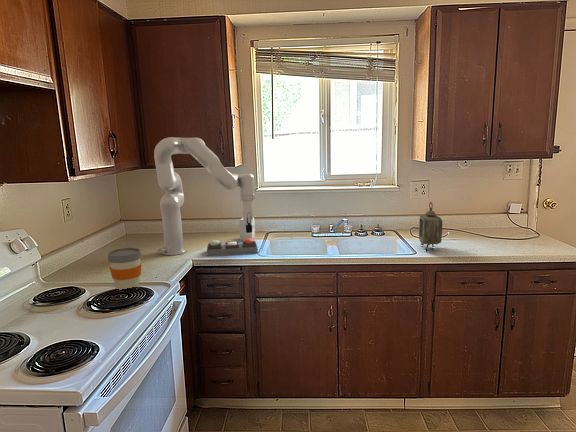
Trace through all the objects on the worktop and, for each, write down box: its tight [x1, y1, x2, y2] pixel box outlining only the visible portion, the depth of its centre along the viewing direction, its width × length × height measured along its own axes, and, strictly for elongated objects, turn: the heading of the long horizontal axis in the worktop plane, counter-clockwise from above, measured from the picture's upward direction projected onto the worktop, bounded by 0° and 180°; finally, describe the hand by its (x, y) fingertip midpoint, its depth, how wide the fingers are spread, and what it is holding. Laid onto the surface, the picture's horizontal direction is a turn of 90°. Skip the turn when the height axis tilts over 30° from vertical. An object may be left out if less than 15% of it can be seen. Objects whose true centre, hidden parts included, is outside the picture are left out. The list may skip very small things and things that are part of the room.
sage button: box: [209, 239, 220, 246], centre depth 212 cm, size 5×5×2 cm
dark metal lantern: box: [418, 201, 443, 251], centre depth 211 cm, size 14×9×25 cm, turn 171°
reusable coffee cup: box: [107, 247, 142, 290], centre depth 165 cm, size 13×13×15 cm
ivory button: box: [227, 241, 238, 245], centre depth 214 cm, size 5×5×2 cm
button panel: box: [206, 240, 259, 257], centre depth 214 cm, size 26×10×4 cm, turn 99°
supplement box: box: [238, 217, 256, 241], centre depth 239 cm, size 7×7×13 cm
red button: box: [244, 238, 255, 244], centre depth 215 cm, size 5×5×2 cm
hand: (249, 232), depth 214 cm, fingers closed
